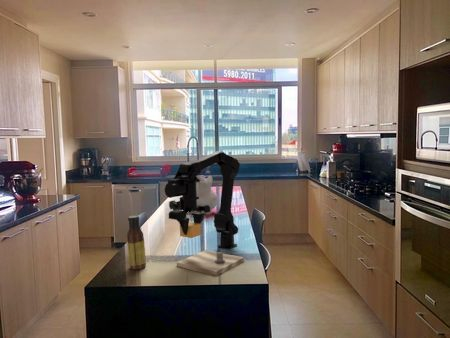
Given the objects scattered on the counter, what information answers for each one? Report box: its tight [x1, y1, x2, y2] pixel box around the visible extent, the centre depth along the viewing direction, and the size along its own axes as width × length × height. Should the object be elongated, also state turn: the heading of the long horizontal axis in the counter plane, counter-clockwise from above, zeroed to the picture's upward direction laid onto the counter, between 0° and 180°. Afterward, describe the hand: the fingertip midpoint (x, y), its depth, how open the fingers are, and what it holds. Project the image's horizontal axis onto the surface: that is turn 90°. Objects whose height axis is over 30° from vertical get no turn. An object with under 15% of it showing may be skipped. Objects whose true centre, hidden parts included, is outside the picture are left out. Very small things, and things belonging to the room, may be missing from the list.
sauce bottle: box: [126, 215, 147, 271], centre depth 139 cm, size 7×6×20 cm
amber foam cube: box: [179, 221, 202, 239], centre depth 147 cm, size 6×6×4 cm
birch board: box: [176, 249, 245, 276], centre depth 142 cm, size 18×19×5 cm
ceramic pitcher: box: [196, 175, 219, 215], centre depth 238 cm, size 22×20×25 cm
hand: (190, 232), depth 147 cm, fingers closed on amber foam cube, 6 cm apart
